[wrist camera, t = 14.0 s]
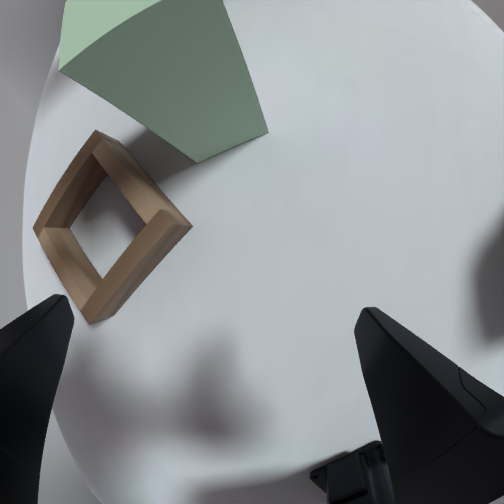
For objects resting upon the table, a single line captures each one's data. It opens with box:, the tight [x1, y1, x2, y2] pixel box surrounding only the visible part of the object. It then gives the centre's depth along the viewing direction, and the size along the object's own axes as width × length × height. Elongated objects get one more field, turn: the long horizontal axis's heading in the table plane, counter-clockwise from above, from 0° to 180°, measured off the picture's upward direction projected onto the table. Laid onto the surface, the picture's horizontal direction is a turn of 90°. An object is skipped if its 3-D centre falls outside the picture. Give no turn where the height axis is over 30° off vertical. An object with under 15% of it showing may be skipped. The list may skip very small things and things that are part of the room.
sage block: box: [58, 0, 269, 163], centre depth 11 cm, size 5×5×12 cm
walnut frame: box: [33, 130, 193, 325], centre depth 17 cm, size 9×9×3 cm
